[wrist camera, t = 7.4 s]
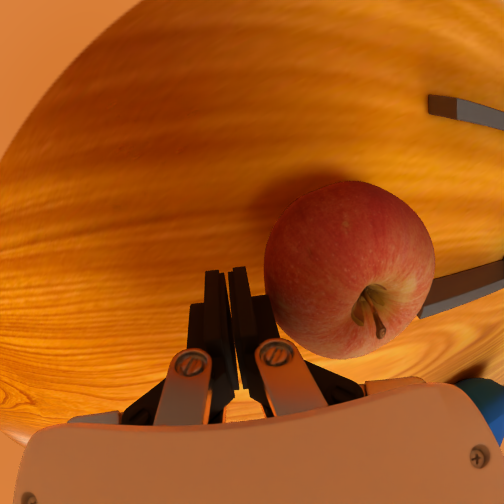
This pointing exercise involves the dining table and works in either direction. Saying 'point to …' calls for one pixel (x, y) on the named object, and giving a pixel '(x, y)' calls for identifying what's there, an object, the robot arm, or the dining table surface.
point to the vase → (487, 402)
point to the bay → (481, 278)
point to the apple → (347, 269)
